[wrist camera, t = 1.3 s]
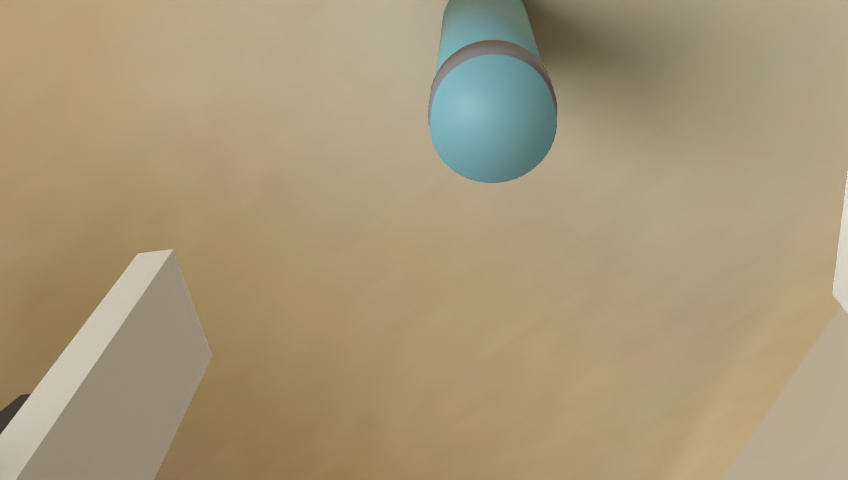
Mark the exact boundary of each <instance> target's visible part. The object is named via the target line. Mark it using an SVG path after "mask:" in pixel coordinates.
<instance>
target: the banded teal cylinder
mask: <svg viewBox="0 0 848 480" xmlns="http://www.w3.org/2000/svg"><path fill="white" fill-rule="evenodd" d="M428 120H429V126H430V131H431V137H432V141H433V144H434V146H435V149H436V151H437V152H438V154H439V156H440V157H441V158H442V160H443V161H444V162H445V163H446V164H447V165H448V166H449V167H450V168H451V169H452V170H454V171H455V172H456V173H458V174H460V175H461V176H464V177H466V178H468V179H471V180H474V181H478V182H484V183H499V182H505V181H510V180H513V179H516V178H518V177H520V176H523V175H524V174H526V173H528V172H529V171H531V170H532V169H533V168H535V167H536V166H537V165H538V164H539V163H540V162H541V161H542V160H543V159H544V157H545V156H546V155H547V153H548V151H549V150H550V148H551V146H552V143H553V141H554V138H555V134H556V128H557V102H556V97H555V93H554V90H553V87H552V84H551V80H550V77H549V75H548V73H547V71H546V69H545V67H544V66H543V64H542V62H541V59H540V55H539V52H538V48H537V45H536V42H535V38H534V35H533V32H532V28H531V25H530V21H529V18H528V15H527V11H526V8H525V5H524V3H523V1H522V0H449V2H448V4H447V6H446V9H445V12H444V16H443V23H442V31H441V39H440V46H439V54H438V62H437V70H436V76H435V78H434V81H433V84H432V87H431V93H430V99H429V107H428Z"/></svg>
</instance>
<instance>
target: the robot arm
mask: <svg viewBox="0 0 848 480" xmlns="http://www.w3.org/2000/svg"><path fill="white" fill-rule="evenodd" d="M832 294H833V295H834V297H835V298H836V299H837V301H838V302H839V303H840V304H841V306H842V307H843V308H844V310H845V311H846V312H847V313H848V173H847V181H846V189H845V197H844V205H843V213H842V221H841V229H840V237H839V245H838V253H837V260H836V268H835V276H834V284H833V292H832ZM211 358H212V353H211V351H210V348H209V345H208V343H207V340H206V337H205V334H204V332H203V329H202V326H201V324H200V321H199V318H198V315H197V313H196V310H195V307H194V304H193V302H192V299H191V296H190V294H189V291H188V288H187V285H186V283H185V280H184V277H183V275H182V272H181V269H180V266H179V264H178V261H177V258H176V256H175V253H174V250H173V249H172V250H164V251H155V252H147V253H138V254H137V256H136V257H135V258H134V259H133V261H132V262H131V263H130V265H129V266H128V267H127V269H126V270H125V271H124V273H123V274H122V275H121V277H120V278H119V279H118V281H117V282H116V283H115V284H114V286H113V287H112V288H111V290H110V291H109V292H108V294H107V295H106V296H105V298H104V299H103V300H102V302H101V303H100V304H99V306H98V307H97V308H96V309H95V311H94V312H93V313H92V315H91V316H90V317H89V319H88V320H87V321H86V323H85V324H84V325H83V327H82V328H81V329H80V331H79V332H78V333H77V334H76V336H75V337H74V338H73V340H72V341H71V342H70V344H69V345H68V346H67V348H66V349H65V350H64V352H63V353H62V354H61V356H60V357H59V358H58V359H57V361H56V362H55V363H54V365H53V366H52V367H51V369H50V370H49V371H48V373H47V374H46V375H45V377H44V378H43V379H42V381H41V382H40V383H39V384H38V386H37V387H36V388H35V390H34V391H33V392H32V394H26V395H21V396H19V397H18V398H17V399H16V400H14V401H13V402H12V403H10V404H9V405H8V406H7V407H5V408H4V409H3V410H2V411H0V480H154V478H155V476H156V474H157V472H158V470H159V468H160V465H161V463H162V461H163V459H164V457H165V455H166V453H167V451H168V449H169V446H170V444H171V442H172V440H173V438H174V436H175V434H176V432H177V430H178V427H179V425H180V423H181V421H182V419H183V417H184V415H185V413H186V411H187V408H188V406H189V404H190V402H191V400H192V398H193V396H194V394H195V392H196V389H197V387H198V385H199V383H200V381H201V379H202V377H203V375H204V373H205V370H206V368H207V366H208V364H209V362H210V360H211Z"/></svg>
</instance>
